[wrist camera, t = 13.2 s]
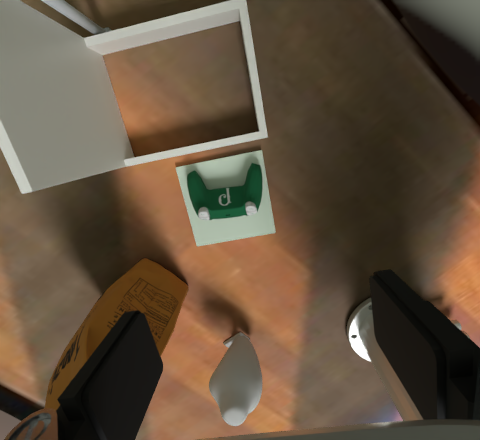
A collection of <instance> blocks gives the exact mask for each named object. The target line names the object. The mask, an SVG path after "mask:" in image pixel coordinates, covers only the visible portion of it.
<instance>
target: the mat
mask: <svg viewBox="0 0 480 440" xmlns="http://www.w3.org/2000/svg"><path fill="white" fill-rule="evenodd" d="M252 163H254V164H258V165H260V166H261V170H262V180H263V190H262V198H261V203H260V206H259V209H258V212H257V213H255V214H253V215H248V216H246V215H244V216H240V217H232V218H224V219H212V220H201V219H200V218H199V217H198V216H197V214H196V212H195V210H194V208H193V205H192V202H191V199H190V196H189V192H188V187H187V175H188V174H189V173H190V172H192V171H194V170H195V171H196V172H197V173H198V174H199V175H200V177H201V178H202V180H203V182H204V184H205V186H206V188H207V189H209V190H211V189H217V188H225V187H234V186H243V185H244V183H245V180H246V176H247V172H248V169H249V167H250V166H251V164H252ZM176 171H177V175H178V178H179V182H180V186H181V189H182V193H183V197H184V200H185V204H186V208H187V211H188V215H189V219H190V223H191V226H192V230H193V234H194V237H195V241H196V245H197V246H202V245H208V244H214V243H220V242H225V241H231V240H237V239H243V238H249V237H254V236H260V235H266V234H272V233H276V232H275V226H274V220H273V214H272V208H271V202H270V196H269V190H268V184H267V178H266V172H265V166H264V160H263V154H262V150H259V151H254V152H249V153H244V154H239V155H234V156H229V157H224V158H219V159H214V160H209V161H204V162H199V163H194V164H189V165H185V166H180V167H176Z"/></svg>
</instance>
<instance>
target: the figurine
mask: <svg viewBox="0 0 480 440" xmlns="http://www.w3.org/2000/svg"><path fill="white" fill-rule="evenodd" d="M224 345H226V346H227V347H228V350H227V352H226V354H225V355H224V357H223V358H222V360H221V362H220V363H219V365H218V366H217V368H216V370H215V371H214V373H213V375H212V376H211V379H210V382H209V389H210V392H211V394H212V396H213V397H214V399H215V400H216V402H217V404H218V406H219V408H220V411H221V415H222V417H223V419H224V421H225V422H226V423H227V424H229V425H232V426H238V425H240V424H242V423H243V422H244V420H245V419H246V417H247V414H249V413H251V412H252V411H253V410H254V409H255V408H256V406H257V404H258V403H259V400H260V397H261V393H262V374H261V369H260V365H259V361H258V357H257V354H256V352H255V349H254V347H253V345H252V343H251V342H250V338H248V337H247V336H245V335H244V334H243V333H241V332H240V333H238V334H236V335H235V336H233V337H232V338H230V339H228V340H227V341H225V342H224Z"/></svg>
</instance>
